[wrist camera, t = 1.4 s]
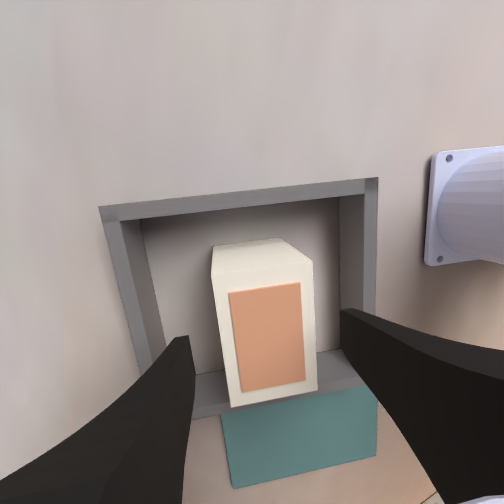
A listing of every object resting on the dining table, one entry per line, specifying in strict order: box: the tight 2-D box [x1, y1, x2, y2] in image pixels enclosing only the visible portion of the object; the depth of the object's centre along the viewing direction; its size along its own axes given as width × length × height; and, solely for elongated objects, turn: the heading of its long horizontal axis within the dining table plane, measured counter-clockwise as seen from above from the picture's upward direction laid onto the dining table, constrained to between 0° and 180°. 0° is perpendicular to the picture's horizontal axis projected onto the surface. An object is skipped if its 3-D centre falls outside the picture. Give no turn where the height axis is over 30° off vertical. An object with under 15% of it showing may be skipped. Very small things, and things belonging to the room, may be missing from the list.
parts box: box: [211, 238, 318, 408], centre depth 14 cm, size 4×7×6 cm, turn 6°
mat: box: [221, 385, 378, 489], centre depth 21 cm, size 13×9×1 cm
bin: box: [98, 177, 378, 420], centre depth 16 cm, size 15×14×3 cm
